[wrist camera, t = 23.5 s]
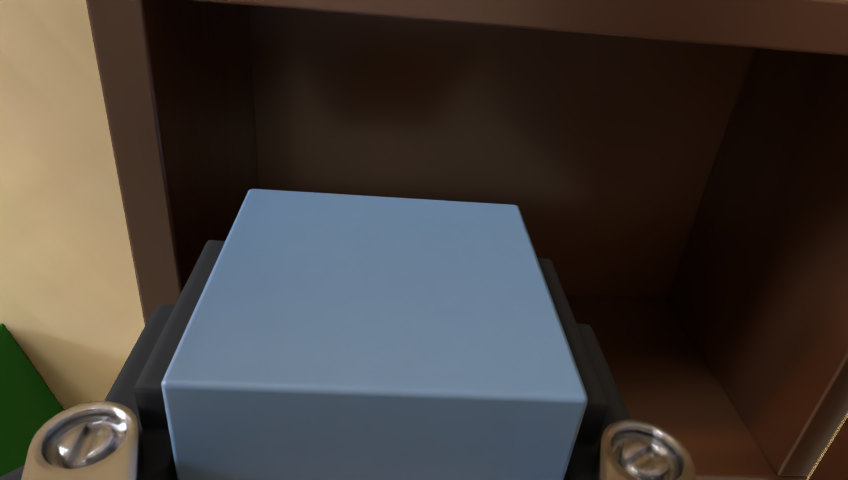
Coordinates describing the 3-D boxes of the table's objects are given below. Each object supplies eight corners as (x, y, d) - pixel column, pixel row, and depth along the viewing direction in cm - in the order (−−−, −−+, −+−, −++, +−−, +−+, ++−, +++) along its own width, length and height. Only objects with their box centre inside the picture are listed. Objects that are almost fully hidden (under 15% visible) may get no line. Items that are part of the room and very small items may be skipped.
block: (260, 388, 14) (200, 623, 9) (248, 186, 11) (157, 383, 7) (482, 396, 14) (520, 626, 10) (519, 203, 12) (591, 399, 7)
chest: (244, 284, 23) (172, 485, 16) (216, -101, 17) (70, -72, 9) (671, 304, 25) (795, 499, 17) (800, -44, 18) (1091, 22, 11)
